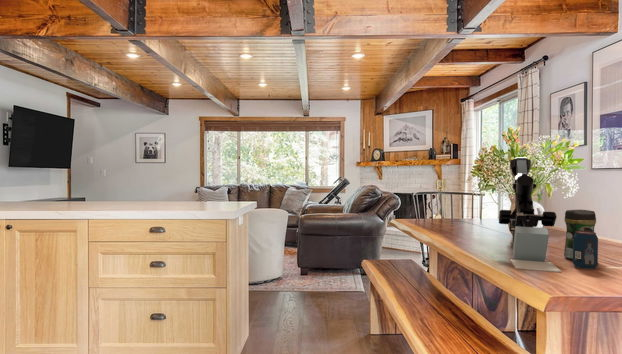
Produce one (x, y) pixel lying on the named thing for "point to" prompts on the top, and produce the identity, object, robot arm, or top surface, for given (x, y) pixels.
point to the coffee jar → (577, 227)
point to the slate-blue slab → (530, 243)
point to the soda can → (585, 250)
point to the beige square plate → (535, 265)
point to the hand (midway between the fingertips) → (529, 235)
